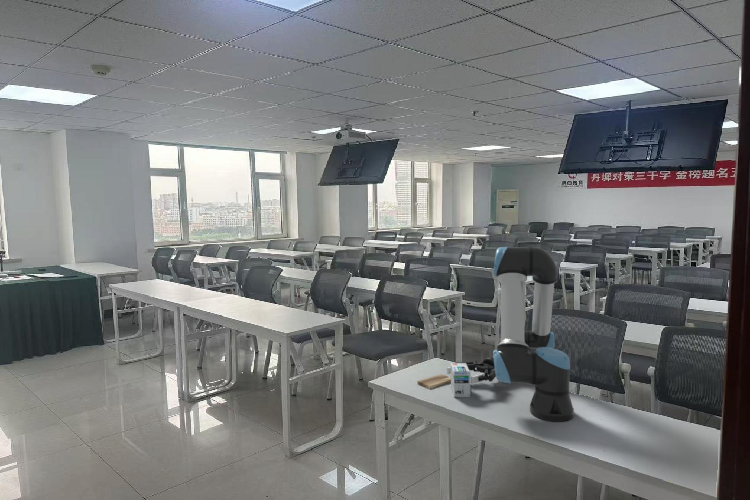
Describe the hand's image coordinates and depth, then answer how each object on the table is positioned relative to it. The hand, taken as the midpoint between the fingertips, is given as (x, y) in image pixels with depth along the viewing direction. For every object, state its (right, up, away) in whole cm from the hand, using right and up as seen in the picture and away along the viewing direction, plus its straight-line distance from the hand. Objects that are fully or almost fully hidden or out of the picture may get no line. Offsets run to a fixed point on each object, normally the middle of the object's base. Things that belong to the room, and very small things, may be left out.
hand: (459, 375), depth 202 cm
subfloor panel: (-8, -6, +11) cm, 15 cm away
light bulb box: (+1, -7, 0) cm, 7 cm away
